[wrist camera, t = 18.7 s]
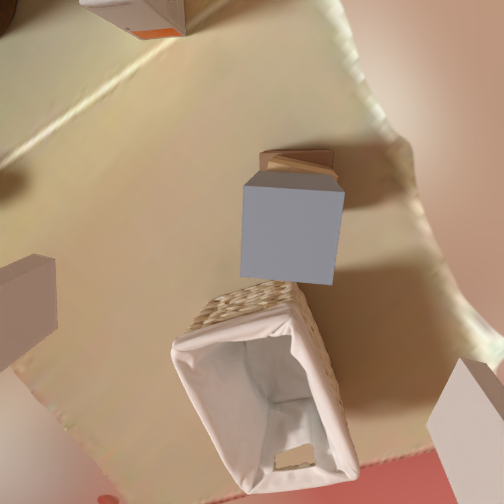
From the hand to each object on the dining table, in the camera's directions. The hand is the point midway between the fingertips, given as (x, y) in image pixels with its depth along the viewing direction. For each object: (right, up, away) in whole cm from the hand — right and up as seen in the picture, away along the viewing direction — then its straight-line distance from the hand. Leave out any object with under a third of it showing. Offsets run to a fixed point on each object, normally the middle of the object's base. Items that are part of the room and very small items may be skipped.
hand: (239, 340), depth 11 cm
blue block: (+4, +7, +18) cm, 20 cm away
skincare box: (-10, +30, +28) cm, 43 cm away
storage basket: (+4, -11, +41) cm, 43 cm away
